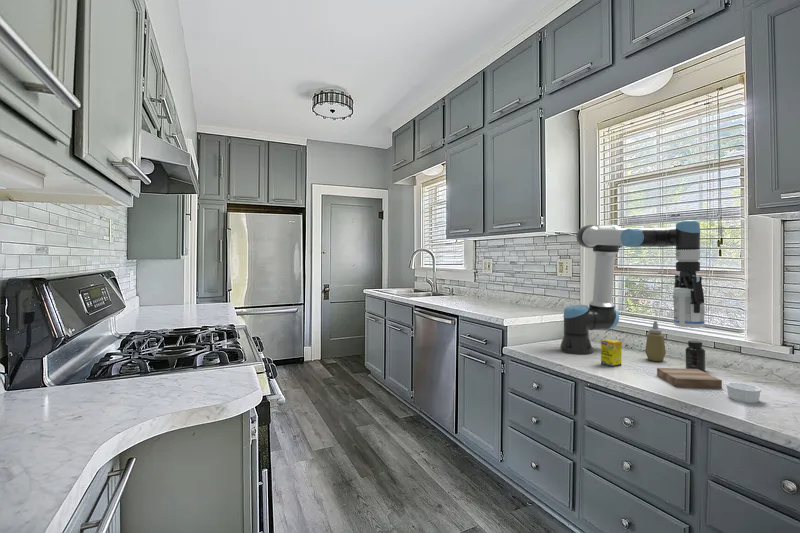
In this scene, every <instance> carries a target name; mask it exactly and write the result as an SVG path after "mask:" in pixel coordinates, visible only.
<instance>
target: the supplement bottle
mask: <svg viewBox="0 0 800 533" xmlns="http://www.w3.org/2000/svg"><path fill="white" fill-rule="evenodd" d="M684 349H685V351H684V352H685V369H699V370H701V371H703V372H705V371H706V350H705V349H704V348H703V342H702V341H700V340H699V341H698V340H688V342H687V347H685V348H684Z"/></svg>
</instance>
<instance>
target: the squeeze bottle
mask: <svg viewBox="0 0 800 533" xmlns="http://www.w3.org/2000/svg"><path fill="white" fill-rule="evenodd" d="M666 354H667V353H666V344H665V336H664V334H663V333H662V330H661V329H660V328H659V324H658V321H653V324H652V328H649V333H648V334H647V336H646V342H645V355H646V358H647V359H648V360H649V361H652V362H663V361H664V359H665V356H666Z"/></svg>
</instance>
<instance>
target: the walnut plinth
mask: <svg viewBox="0 0 800 533" xmlns="http://www.w3.org/2000/svg"><path fill="white" fill-rule="evenodd" d="M656 376H657V377H659V378H661V379H663V380H664V381H666V382H668V383H669V384H671V385H672V386H674V387H676V388H691V389H692V388H695V389H719V390H720V389H723V388H722V387H723V380H722V379H719V378H717V377H715V376H713V375H711V374H709V373H708V372H705V371H701V370H699V369H686V368H676V367H675V368H674V367H673V368H671V367H669V368H668V367H657V368H656Z"/></svg>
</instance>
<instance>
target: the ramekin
mask: <svg viewBox="0 0 800 533" xmlns="http://www.w3.org/2000/svg"><path fill="white" fill-rule="evenodd" d="M725 385H726V390H727V397H728V398H730V399H731V400H734V401H738V402H741V403H748V404H756V403H759V402H760V396H761V392H762V389H761V388H760V387H758V386H755V385H753V384H748V383H742V382H727V383H726V384H725Z"/></svg>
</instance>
